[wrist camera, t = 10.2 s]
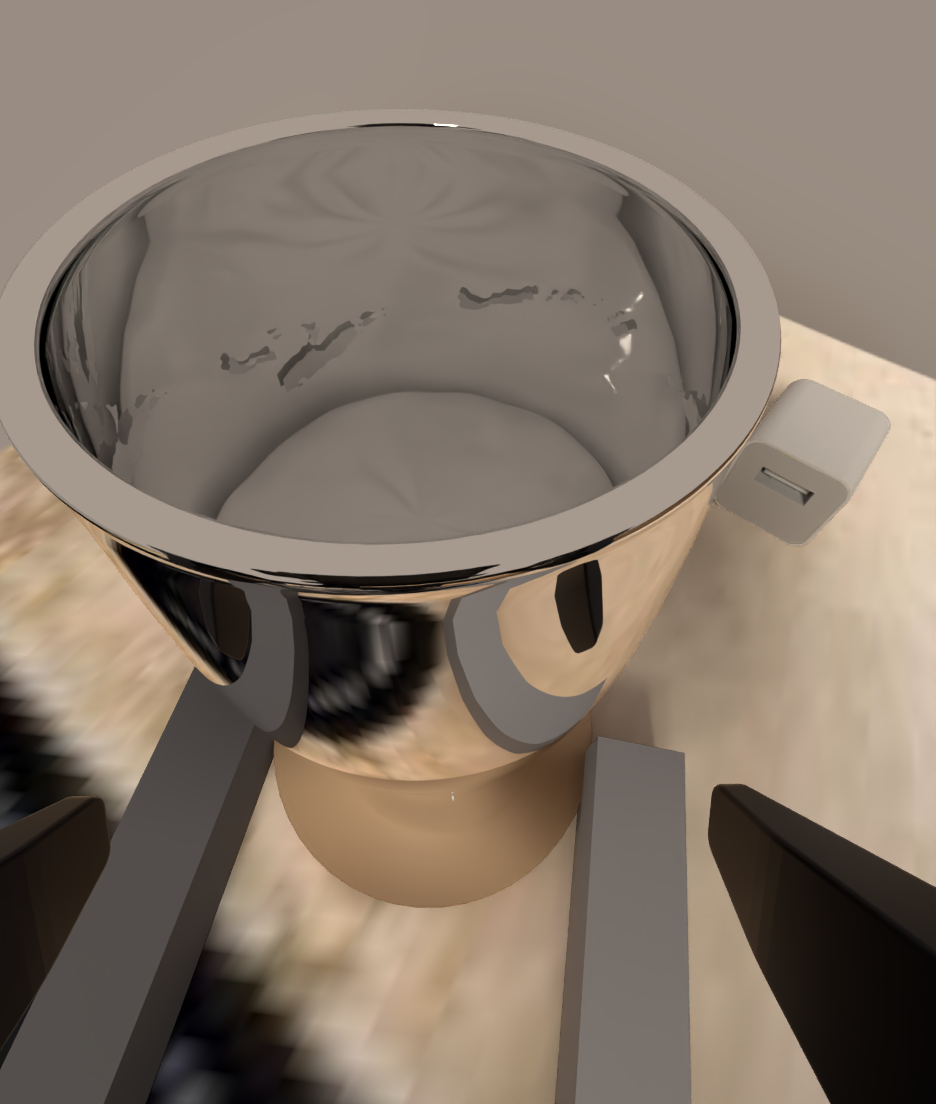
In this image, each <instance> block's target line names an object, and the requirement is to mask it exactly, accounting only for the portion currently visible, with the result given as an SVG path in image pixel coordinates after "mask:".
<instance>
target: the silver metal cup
mask: <svg viewBox="0 0 936 1104" xmlns="http://www.w3.org/2000/svg"><path fill="white" fill-rule="evenodd" d="M780 354H781V327H780V319H779V313H778V308H777V303H776V300H775V297H774V293H773V290H772V287H771V285H770V282H769V279H768V277H767V275H766V273H765V270H764V268H763V267H762V265H761V263H760V261H759V259H758V258H757V256H756V255H755V253H754V251H753V250H752V248H751V247H750V246H749V244H748V243H747V242H746V240H745V239H744V238H743V237H742V236H741V234H740V233H739V232H738V231H737V229H736V228H735V227H734V226H733V225H732V224H731V223H730V222H729V221H728V220H727V219H726V218H725V217H724V216H723V215H722V214H721V213H720V212H719V211H718V210H717V209H716V208H715V207H713V206H712V205H711V204H710V203H709V202H707V201H706V200H705V199H704V198H702V197H701V196H700V195H698V194H697V193H696V192H694V191H693V190H691V189H690V188H689V187H687V186H686V185H684V184H683V183H681V182H680V181H678V180H677V179H675V178H674V177H672V176H670V175H669V174H667V173H665V172H664V171H662V170H660V169H658V168H656V167H655V166H653V165H651V164H648V163H647V162H645V161H643V160H641V159H639V158H636V157H634V156H632V155H630V154H628V153H626V152H623V151H621V150H619V149H616V148H614V147H611V146H609V145H606V144H604V143H601V142H598V141H595V140H592V139H589V138H586V137H584V136H580V135H577V134H574V133H571V132H567V131H564V130H560V129H556V128H552V127H548V126H544V125H539V124H536V123H531V122H526V121H521V120H515V119H510V118H505V117H498V116H492V115H484V114H476V113H467V112H457V111H444V110H423V109H377V110H359V111H345V112H334V113H325V114H317V115H309V116H302V117H296V118H290V119H285V120H280V121H274V122H269V123H264V124H259V125H255V126H251V127H247V128H243V129H239V130H235V131H232V132H228V133H225V134H221V135H217V136H214V137H211V138H208V139H205V140H202V141H199V142H196V143H193V144H191V145H188V146H185V147H183V148H180V149H178V150H175V151H172V152H170V153H167V154H165V155H163V156H160V157H158V158H156V159H153V160H151V161H149V162H147V163H145V164H143V165H141V166H139V167H137V168H135V169H133V170H131V171H129V172H127V173H125V174H124V175H122V176H120V177H118V178H116V179H115V180H113V181H111V182H110V183H108V184H106V185H105V186H103V187H102V188H100V189H98V190H97V191H95V192H94V193H92V194H91V195H90V196H88V197H87V198H85V199H84V200H83V201H81V202H80V203H79V204H77V205H76V206H75V207H73V208H72V209H71V210H70V211H68V212H67V213H66V214H65V215H63V216H62V217H61V218H60V219H59V220H58V221H57V222H55V223H54V224H53V225H52V226H51V227H50V228H49V229H48V230H47V231H46V232H45V233H44V234H43V235H42V236H41V237H40V238H39V239H38V240H37V241H36V243H35V244H34V245H33V246H32V247H31V248H30V249H29V251H28V252H27V253H26V255H25V256H24V257H23V258H22V260H21V261H20V262H19V264H18V265H17V267H16V268H15V270H14V271H13V273H12V274H11V276H10V278H9V280H8V281H7V283H6V285H5V287H4V289H3V291H2V294H1V296H0V423H1V426H2V428H3V430H4V432H5V434H6V435H7V437H8V439H9V441H10V442H11V444H12V446H13V448H14V449H15V451H16V452H17V454H18V455H19V457H20V458H21V460H22V461H23V462H24V463H25V465H26V466H27V467H28V468H29V470H30V471H31V472H32V473H33V474H34V475H35V477H36V478H37V479H38V480H39V481H40V482H41V483H42V484H43V485H44V486H45V487H46V488H47V489H48V490H49V491H50V492H51V493H53V494H54V495H55V496H56V497H57V498H58V499H59V500H60V501H62V502H63V503H64V504H65V505H67V506H68V507H69V508H70V510H71V511H72V512H73V513H74V514H75V516H76V517H77V518H78V519H79V521H80V522H81V523H82V524H83V526H84V527H85V528H86V529H87V531H88V532H89V533H90V534H91V536H92V537H93V538H94V539H95V541H96V542H97V543H98V544H99V546H100V547H101V548H102V550H103V551H104V552H105V554H106V555H107V556H108V558H109V559H110V561H111V562H112V563H113V565H114V566H115V567H116V569H117V570H118V571H119V573H120V574H121V575H122V577H123V578H124V579H125V581H126V582H127V583H128V585H129V586H130V587H131V589H132V590H133V591H134V593H135V594H136V595H137V597H138V598H139V599H140V600H141V602H142V603H143V604H144V605H145V606H146V608H147V609H148V610H149V611H150V613H151V614H152V615H153V616H154V618H155V619H156V620H157V621H158V623H159V624H160V625H161V626H162V627H163V629H164V630H165V631H166V632H167V634H168V635H169V636H170V637H171V639H172V640H173V641H174V642H175V644H176V645H177V646H178V647H179V648H180V650H181V651H182V652H183V653H184V655H185V656H186V657H187V658H188V659H189V660H190V661H191V662H192V663H193V665H194V666H195V667H196V668H197V669H198V670H199V671H200V672H201V673H202V674H203V675H204V676H205V677H206V678H207V679H208V680H209V681H210V682H211V683H212V685H213V686H214V687H215V688H216V689H217V690H218V691H219V692H220V693H221V694H222V695H223V696H224V697H225V698H226V699H227V700H228V701H229V702H230V703H231V704H232V705H233V706H234V707H235V708H236V709H237V710H238V711H239V712H240V713H241V714H242V715H243V716H245V717H246V718H247V719H248V720H249V721H250V722H252V723H253V724H254V725H256V726H257V727H258V728H260V729H261V730H262V731H264V732H265V733H266V734H268V735H269V736H270V737H271V738H273V739H274V740H275V741H277V742H278V743H279V744H281V745H282V746H283V747H285V748H286V749H287V750H289V751H290V752H291V753H293V754H295V755H296V756H298V757H299V758H301V759H302V760H304V761H306V762H307V763H309V764H311V765H313V766H315V767H317V768H319V769H321V770H323V771H325V772H327V773H330V774H332V775H335V776H337V777H340V778H343V779H346V780H349V781H351V782H352V783H353V785H354V786H355V788H356V790H357V791H358V793H359V794H360V795H361V797H362V798H363V799H364V800H365V801H366V803H367V804H368V805H369V806H370V807H371V808H372V809H374V810H375V811H376V812H377V813H378V814H380V815H381V816H383V817H384V818H386V819H387V820H389V821H391V822H393V823H395V824H397V825H399V826H402V827H404V828H407V829H410V830H414V831H419V832H426V833H447V832H454V831H459V830H462V829H466V828H469V827H471V826H474V825H476V824H478V823H480V822H482V821H484V820H486V819H487V818H489V817H491V816H492V815H493V814H495V813H496V812H497V811H499V810H500V809H501V808H502V807H503V806H504V805H505V804H506V803H507V802H508V801H509V800H510V799H511V798H512V797H513V796H514V795H515V793H516V792H517V791H518V789H519V788H520V786H521V784H522V783H523V781H524V779H525V777H526V775H527V773H528V770H529V767H530V764H531V761H532V760H533V759H535V758H536V757H538V756H540V755H541V754H543V753H544V752H546V751H547V750H549V749H550V748H551V747H553V746H554V745H555V744H557V743H558V742H559V741H560V740H562V739H563V738H564V737H565V736H566V735H568V734H569V733H570V732H571V731H572V730H573V729H574V728H575V727H576V726H577V725H578V724H579V723H580V722H581V721H582V720H583V719H584V717H585V716H586V715H587V714H588V713H589V711H590V710H591V709H592V708H593V707H594V706H595V704H596V703H597V702H598V701H599V700H600V698H601V697H602V696H603V695H604V694H605V692H606V691H607V690H608V689H609V688H610V687H611V685H612V684H613V683H614V682H615V680H616V679H617V678H618V677H619V675H620V674H621V673H622V671H623V670H624V668H625V666H626V665H627V663H628V662H629V660H630V659H631V657H632V655H633V654H634V652H635V650H636V649H637V647H638V645H639V644H640V642H641V641H642V639H643V637H644V636H645V634H646V632H647V631H648V629H649V627H650V626H651V624H652V623H653V621H654V619H655V617H656V616H657V614H658V612H659V611H660V609H661V607H662V605H663V603H664V601H665V599H666V597H667V595H668V593H669V591H670V589H671V587H672V585H673V583H674V581H675V579H676V577H677V575H678V573H679V571H680V569H681V567H682V565H683V563H684V561H685V559H686V557H687V555H688V553H689V551H690V549H691V547H692V545H693V543H694V541H695V539H696V537H697V535H698V532H699V530H700V528H701V526H702V524H703V522H704V520H705V517H706V515H707V513H708V511H709V509H710V507H711V504H712V502H713V500H714V498H715V496H716V494H717V491H718V489H719V487H720V485H721V483H722V481H723V479H724V477H725V475H726V473H727V471H728V469H729V467H730V465H731V463H732V461H733V459H734V457H735V456H736V454H737V453H738V452H739V451H740V449H741V448H742V447H743V445H744V444H745V443H746V441H747V440H748V438H749V437H750V436H751V434H752V433H753V431H754V429H755V427H756V426H757V424H758V422H759V421H760V419H761V417H762V415H763V413H764V411H765V409H766V407H767V404H768V402H769V399H770V397H771V394H772V391H773V387H774V384H775V381H776V377H777V373H778V368H779V361H780Z"/></svg>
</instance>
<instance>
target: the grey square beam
mask: <svg viewBox="0 0 936 1104" xmlns="http://www.w3.org/2000/svg"><path fill="white" fill-rule="evenodd" d="M555 1104H691V1067H690V1016H689V964H688V913H687V862H686V811H685V760H684V753H682V752H677V751H672V750H667V749H662V748H657V747H652V746H647V745H642V744H636V743H631V742H626V741H621V740H616V739H611V738H606V737H601V736H598V737H597V738H596V739H595V740H594V742H593V743H592V744H591V745H590V746H589V748H588V749H587V750H586V752H585V766H584V779H583V793H582V800H581V802H580V804H579V807H578V812H577V825H576V838H575V851H574V864H573V877H572V890H571V903H570V916H569V929H568V942H567V954H566V967H565V980H564V993H563V1006H562V1019H561V1032H560V1045H559V1058H558V1071H557V1084H556V1097H555Z"/></svg>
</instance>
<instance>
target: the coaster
mask: <svg viewBox="0 0 936 1104" xmlns="http://www.w3.org/2000/svg"><path fill="white" fill-rule="evenodd" d="M591 744H592V726H591V718H590V711H589V713H588V714H587V715H586V716H585V717H584V719H583V720H582V721H581V722H580V723H579V724H578V725H577V726H576V727H575V728H574V729H573V730H572V731H571V732H570V733H569V734H568V735H566V736H565V737H564V738H563V739H562V740H560V741H559V742H558V743H557V744H555V745H554V746H553V747H551V748H550V749H549V750H547V751H546V752H544V753H543V754H541V755H540V756H538V757H536V758H535V759H533V760H532V761H531V764H530V767H529V770H528V773H527V775H526V777H525V779H524V781H523V783H522V784H521V786H520V788H519V789H518V791H517V792H516V793H515V795H514V796H513V797H512V798H511V799H510V800H509V801H508V802H507V803H506V804H505V805H504V806H503V807H502V808H501V809H500V810H499V811H497V812H496V813H495V814H493V815H492V816H491V817H489V818H487V819H486V820H484V821H482V822H480V823H478V824H476V825H474V826H471V827H469V828H466V829H462V830H459V831H454V832H447V833H426V832H419V831H414V830H410V829H407V828H404V827H402V826H399V825H397V824H395V823H393V822H391V821H389V820H387V819H386V818H384V817H383V816H381V815H380V814H378V813H377V812H376V811H375V810H374V809H372V808H371V807H370V806H369V805H368V804H367V803H366V801H365V800H364V799H363V798H362V797H361V795H360V794H359V793H358V791H357V790H356V788H355V786H354V785H353V783H352V782H351V781H349V780H346V779H343V778H340V777H337V776H335V775H332V774H330V773H327V772H325V771H323V770H321V769H319V768H317V767H315V766H313V765H311V764H309V763H307V762H306V761H304V760H302V759H301V758H299V757H298V756H296V755H295V754H293V753H291V752H290V751H289V750H287V749H286V748H285V747H283V746H282V745H281V744H279V743H278V742H277V741H275V740H274V764H275V775H276V780H277V784H278V789H279V793H280V797H281V800H282V803H283V805H284V808H285V811H286V813H287V816H288V818H289V820H290V822H291V824H292V826H293V827H294V829H295V831H296V833H297V835H298V837H299V838H300V839H301V841H302V842H303V843H304V845H305V846H306V847H307V849H308V850H309V851H310V853H311V854H312V855H313V856H314V857H315V858H316V859H317V860H318V861H319V862H320V863H321V864H322V865H323V866H324V867H325V868H326V869H327V870H328V871H329V872H330V873H331V874H333V875H334V876H336V877H337V878H339V879H340V880H341V881H343V882H344V883H346V884H347V885H348V886H350V887H352V888H354V889H356V890H358V891H360V892H362V893H364V894H366V895H368V896H370V897H373V898H376V899H379V900H383V901H386V902H389V903H392V904H397V905H404V906H411V907H417V908H421V907H447V906H453V905H459V904H465V903H469V902H472V901H475V900H478V899H481V898H484V897H487V896H490V895H492V894H494V893H496V892H498V891H500V890H502V889H504V888H506V887H508V886H510V885H511V884H513V883H514V882H516V881H517V880H519V879H520V878H521V877H523V876H524V875H526V874H527V873H529V872H530V871H531V870H532V869H533V868H534V867H535V866H537V865H538V864H539V863H540V862H541V861H542V860H543V859H544V858H545V857H546V856H547V855H548V854H549V853H550V852H551V850H552V849H553V848H554V847H555V845H556V844H557V843H558V841H559V840H560V839H561V838H562V836H563V835H564V833H565V831H566V830H567V828H568V826H569V825H570V823H571V821H572V820H573V818H574V816H575V814H576V812H577V809H578V807H579V804H580V802H581V800H582V793H583V779H584V766H585V752H586V750H587V749H588V748H589V746H590V745H591Z"/></svg>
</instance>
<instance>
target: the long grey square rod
mask: <svg viewBox="0 0 936 1104" xmlns="http://www.w3.org/2000/svg"><path fill="white" fill-rule="evenodd" d="M273 756H274V739H273V738H271V737H270V736H269V735H268V734H266V733H265V732H264V731H262V730H261V729H260V728H258V727H257V726H256V725H254V724H253V723H252V722H250V721H249V720H248V719H247V718H246V717H245V716H243V715H242V714H241V713H240V712H239V711H238V710H237V709H236V708H235V707H234V706H233V705H232V704H231V703H230V702H229V701H228V700H227V699H226V698H225V697H224V696H223V695H222V694H221V693H220V692H219V691H218V690H217V689H216V688H215V687H214V686H213V685H212V683H211V682H210V681H209V680H208V679H207V678H206V677H205V676H204V675H203V674H202V673H201V672H200V671H199V670H198V669H197V668H196V667H194V670H193V672H192V674H191V676H190V678H189V680H188V682H187V684H186V686H185V688H184V690H183V692H182V694H181V696H180V699H179V701H178V703H177V705H176V707H175V709H174V711H173V713H172V715H171V717H170V719H169V721H168V723H167V725H166V728H165V730H164V732H163V734H162V736H161V738H160V740H159V742H158V744H157V746H156V748H155V750H154V752H153V755H152V757H151V759H150V761H149V763H148V765H147V767H146V769H145V771H144V773H143V775H142V777H141V779H140V781H139V784H138V786H137V788H136V790H135V792H134V794H133V796H132V798H131V800H130V802H129V804H128V806H127V808H126V810H125V813H124V815H123V817H122V819H121V821H120V823H119V825H118V827H117V829H116V831H115V833H114V835H113V837H112V840H111V842H110V843H111V849H110V855H109V859H108V862H107V864H106V866H105V868H104V870H103V872H102V874H101V876H100V878H99V880H98V882H97V884H96V885H95V887H94V889H93V891H92V893H91V895H90V897H89V899H88V901H87V903H86V904H85V906H84V908H83V910H82V912H81V914H80V916H79V918H78V920H77V922H76V923H75V925H74V927H73V929H72V931H71V933H70V935H69V937H68V939H67V941H66V943H65V944H64V946H63V948H62V950H61V952H60V954H59V956H58V958H57V960H56V961H55V963H54V965H53V967H52V968H51V970H50V972H49V974H48V976H47V977H46V979H45V981H44V982H43V984H42V986H41V987H40V989H39V991H38V993H37V995H36V997H35V999H34V1001H33V1003H32V1005H31V1007H30V1010H29V1012H28V1014H27V1016H26V1018H25V1020H24V1022H23V1024H22V1026H21V1028H20V1030H19V1032H18V1034H17V1036H16V1039H15V1041H14V1043H13V1045H12V1047H11V1049H10V1051H9V1053H8V1055H7V1057H6V1059H5V1061H4V1063H3V1065H2V1068H1V1070H0V1104H146V1101H147V1099H148V1096H149V1093H150V1090H151V1088H152V1085H153V1082H154V1080H155V1077H156V1074H157V1071H158V1069H159V1066H160V1063H161V1060H162V1058H163V1055H164V1052H165V1050H166V1047H167V1044H168V1041H169V1039H170V1036H171V1033H172V1031H173V1028H174V1025H175V1022H176V1020H177V1017H178V1014H179V1012H180V1009H181V1006H182V1003H183V1001H184V998H185V995H186V993H187V990H188V987H189V984H190V982H191V979H192V976H193V973H194V971H195V968H196V965H197V963H198V960H199V957H200V954H201V952H202V949H203V946H204V944H205V941H206V938H207V935H208V933H209V930H210V927H211V925H212V922H213V919H214V916H215V914H216V911H217V908H218V905H219V903H220V900H221V897H222V895H223V892H224V889H225V886H226V884H227V881H228V878H229V876H230V873H231V870H232V867H233V865H234V862H235V859H236V857H237V854H238V851H239V848H240V846H241V843H242V840H243V837H244V835H245V832H246V829H247V827H248V824H249V821H250V818H251V816H252V813H253V810H254V808H255V805H256V802H257V799H258V797H259V794H260V791H261V789H262V786H263V783H264V780H265V778H266V775H267V772H268V769H269V767H270V764H271V761H272V759H273Z"/></svg>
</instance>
